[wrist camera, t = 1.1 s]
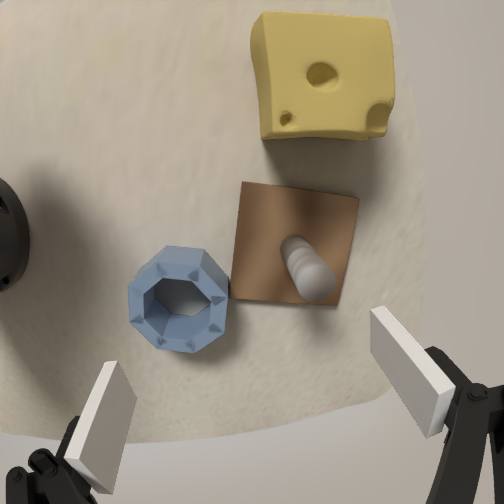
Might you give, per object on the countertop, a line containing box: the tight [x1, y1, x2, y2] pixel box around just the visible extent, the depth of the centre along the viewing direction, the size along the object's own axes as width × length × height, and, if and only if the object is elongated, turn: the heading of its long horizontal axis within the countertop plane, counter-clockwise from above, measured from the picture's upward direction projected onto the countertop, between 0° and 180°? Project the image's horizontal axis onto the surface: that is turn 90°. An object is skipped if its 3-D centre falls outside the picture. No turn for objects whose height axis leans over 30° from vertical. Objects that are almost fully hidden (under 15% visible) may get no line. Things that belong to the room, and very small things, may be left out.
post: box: [229, 181, 360, 306], centre depth 28 cm, size 12×12×10 cm
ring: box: [128, 246, 228, 353], centre depth 32 cm, size 9×9×5 cm
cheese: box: [250, 11, 395, 141], centre depth 24 cm, size 10×11×10 cm
